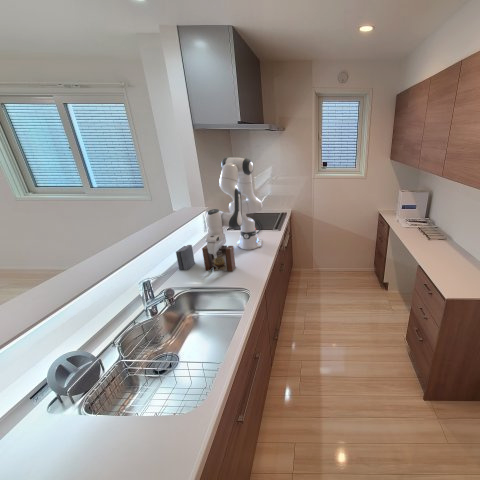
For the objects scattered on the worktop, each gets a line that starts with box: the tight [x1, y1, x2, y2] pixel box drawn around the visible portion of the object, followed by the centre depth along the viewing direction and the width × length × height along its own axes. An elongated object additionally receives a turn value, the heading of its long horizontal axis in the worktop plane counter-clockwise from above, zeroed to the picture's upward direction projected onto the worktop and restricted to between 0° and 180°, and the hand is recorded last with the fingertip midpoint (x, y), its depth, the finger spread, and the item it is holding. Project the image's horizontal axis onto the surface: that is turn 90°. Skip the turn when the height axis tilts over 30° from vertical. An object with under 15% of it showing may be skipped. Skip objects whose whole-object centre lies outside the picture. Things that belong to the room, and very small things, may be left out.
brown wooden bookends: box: [201, 244, 236, 272], centre depth 163 cm, size 6×18×16 cm, turn 89°
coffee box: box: [211, 244, 228, 272], centre depth 163 cm, size 9×6×16 cm
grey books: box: [175, 244, 196, 271], centre depth 166 cm, size 10×6×14 cm, turn 179°
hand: (218, 254), depth 163 cm, fingers open, 8 cm apart
